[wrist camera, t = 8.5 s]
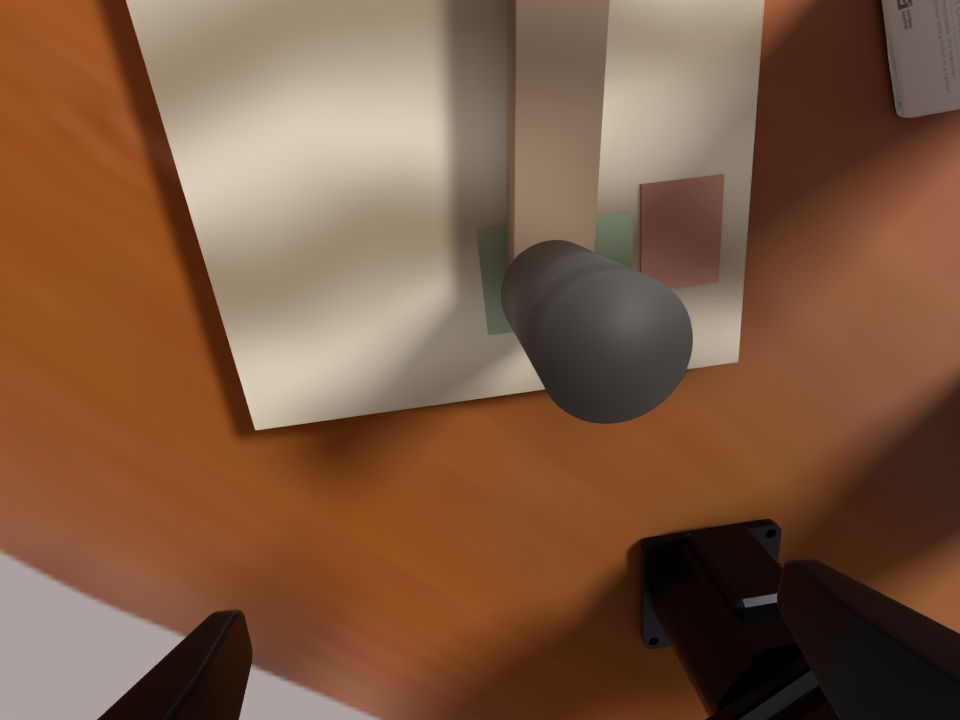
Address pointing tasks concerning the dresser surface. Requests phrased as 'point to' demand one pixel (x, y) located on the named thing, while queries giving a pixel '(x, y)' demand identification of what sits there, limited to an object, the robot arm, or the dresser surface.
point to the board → (433, 184)
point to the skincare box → (923, 55)
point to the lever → (576, 229)
